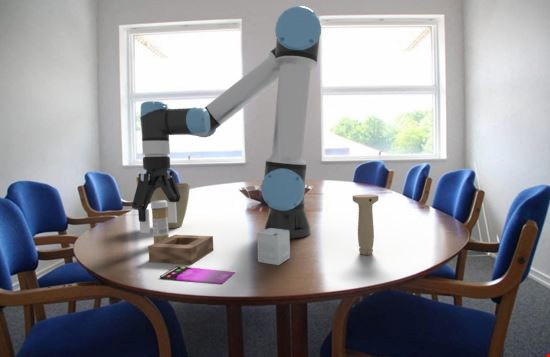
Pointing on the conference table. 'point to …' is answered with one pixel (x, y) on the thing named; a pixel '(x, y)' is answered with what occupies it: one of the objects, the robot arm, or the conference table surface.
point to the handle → (365, 222)
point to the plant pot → (180, 205)
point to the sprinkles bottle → (159, 220)
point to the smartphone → (197, 275)
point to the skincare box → (273, 246)
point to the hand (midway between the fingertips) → (159, 227)
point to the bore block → (181, 249)
